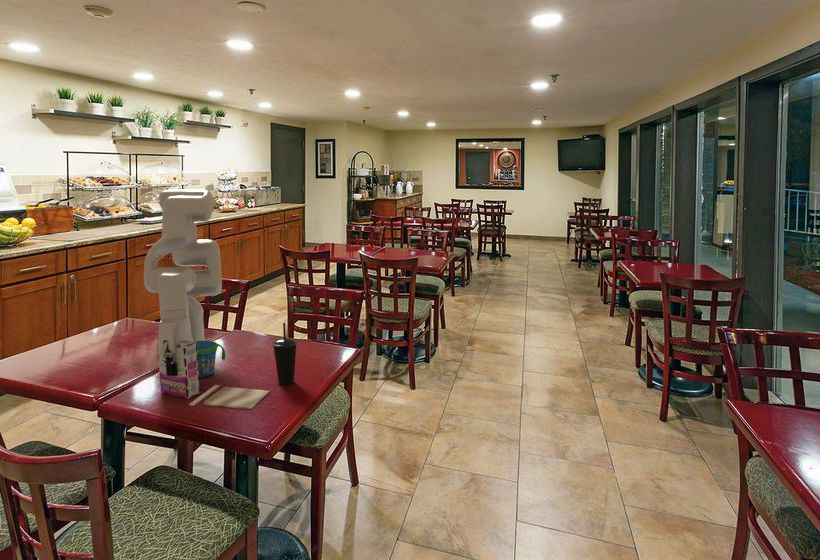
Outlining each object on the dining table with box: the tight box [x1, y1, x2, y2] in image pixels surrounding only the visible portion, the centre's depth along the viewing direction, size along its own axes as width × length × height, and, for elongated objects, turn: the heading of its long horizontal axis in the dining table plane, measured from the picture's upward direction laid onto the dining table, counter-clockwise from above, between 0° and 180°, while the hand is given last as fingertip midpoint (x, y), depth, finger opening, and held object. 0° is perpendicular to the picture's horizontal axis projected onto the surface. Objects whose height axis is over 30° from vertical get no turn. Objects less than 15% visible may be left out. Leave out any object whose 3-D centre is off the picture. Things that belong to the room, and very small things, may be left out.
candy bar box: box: [156, 341, 201, 400], centre depth 152 cm, size 11×5×16 cm, turn 68°
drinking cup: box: [272, 322, 298, 387], centre depth 161 cm, size 8×8×20 cm
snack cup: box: [195, 340, 226, 379], centre depth 168 cm, size 16×10×10 cm
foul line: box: [188, 384, 220, 406], centre depth 152 cm, size 2×14×1 cm, turn 171°
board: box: [202, 386, 271, 410], centre depth 151 cm, size 15×12×1 cm
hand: (178, 370), depth 152 cm, fingers open, 5 cm apart
